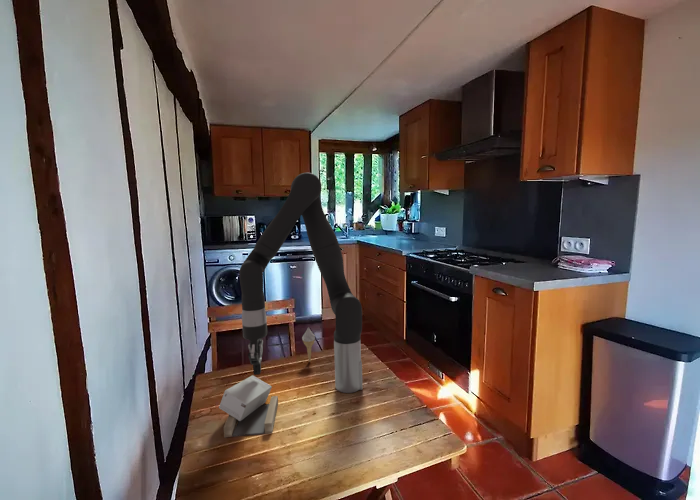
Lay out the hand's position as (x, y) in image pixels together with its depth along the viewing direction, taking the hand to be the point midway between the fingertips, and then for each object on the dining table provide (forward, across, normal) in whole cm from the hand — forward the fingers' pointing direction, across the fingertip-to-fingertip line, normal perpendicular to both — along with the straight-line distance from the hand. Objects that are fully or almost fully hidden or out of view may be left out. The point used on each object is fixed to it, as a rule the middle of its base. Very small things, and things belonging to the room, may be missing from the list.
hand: (257, 373), depth 107 cm
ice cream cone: (+10, +27, -16) cm, 33 cm away
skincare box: (+6, +1, 0) cm, 6 cm away
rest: (+10, -10, 0) cm, 14 cm away
